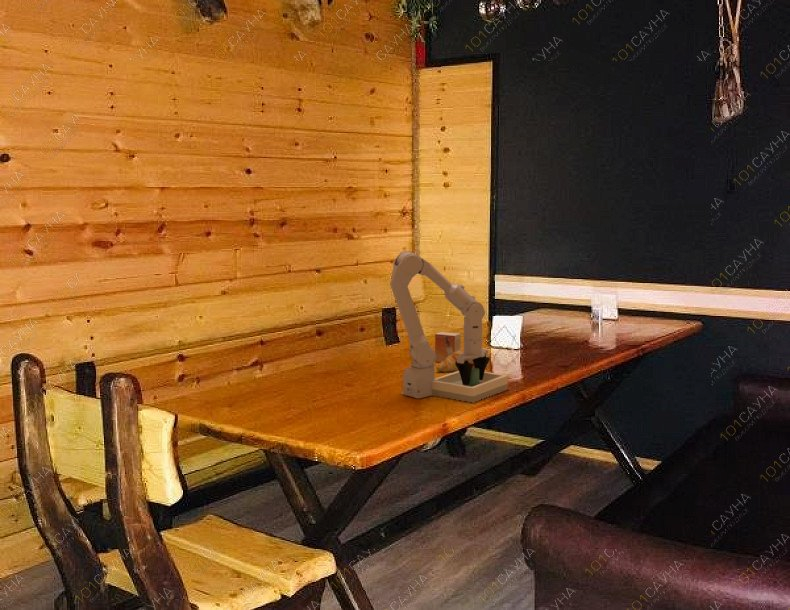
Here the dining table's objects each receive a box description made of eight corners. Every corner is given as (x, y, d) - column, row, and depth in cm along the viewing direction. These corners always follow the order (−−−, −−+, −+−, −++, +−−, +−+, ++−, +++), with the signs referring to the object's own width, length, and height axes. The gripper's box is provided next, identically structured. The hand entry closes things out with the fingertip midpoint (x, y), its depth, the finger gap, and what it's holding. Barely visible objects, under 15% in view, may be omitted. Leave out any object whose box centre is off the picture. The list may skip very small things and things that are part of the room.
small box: (434, 362, 298) (434, 333, 296) (440, 359, 303) (440, 331, 301) (454, 364, 294) (454, 335, 292) (461, 361, 299) (461, 332, 297)
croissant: (442, 384, 280) (450, 366, 276) (425, 366, 286) (432, 348, 282) (486, 373, 293) (494, 356, 289) (469, 356, 299) (476, 339, 295)
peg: (465, 391, 256) (465, 369, 255) (470, 389, 259) (470, 367, 258) (475, 393, 254) (476, 370, 253) (481, 390, 257) (481, 368, 256)
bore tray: (473, 403, 242) (473, 388, 242) (429, 394, 252) (429, 380, 252) (507, 389, 258) (508, 375, 257) (465, 382, 268) (465, 368, 267)
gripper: (470, 344, 246) (470, 388, 248) (496, 337, 257) (495, 379, 259) (451, 341, 251) (451, 385, 253) (477, 334, 262) (476, 376, 264)
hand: (472, 382), depth 256 cm, fingers open, 7 cm apart
